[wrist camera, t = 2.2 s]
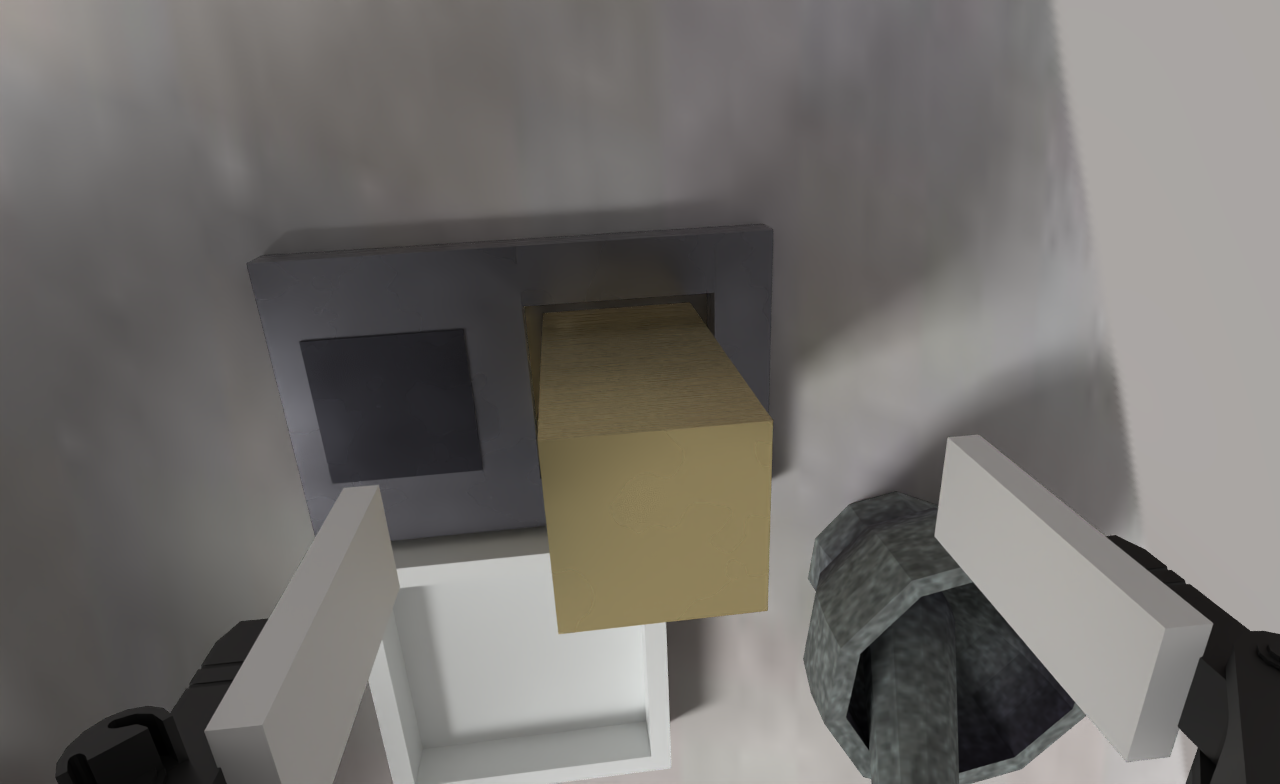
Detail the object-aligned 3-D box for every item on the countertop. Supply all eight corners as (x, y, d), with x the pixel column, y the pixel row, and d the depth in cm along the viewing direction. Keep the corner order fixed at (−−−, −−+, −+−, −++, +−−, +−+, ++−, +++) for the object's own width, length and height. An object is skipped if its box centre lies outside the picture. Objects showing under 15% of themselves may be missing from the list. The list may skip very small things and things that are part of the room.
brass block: (556, 446, 26) (558, 634, 17) (543, 312, 24) (537, 441, 15) (692, 434, 26) (767, 610, 17) (689, 302, 24) (773, 421, 15)
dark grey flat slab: (327, 529, 26) (317, 549, 25) (261, 255, 22) (245, 263, 21) (757, 487, 27) (766, 505, 26) (762, 224, 24) (774, 230, 23)
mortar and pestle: (892, 407, 27) (1129, 617, 16) (1038, 532, 30) (1324, 783, 19) (696, 608, 29) (783, 912, 18) (849, 705, 32) (1004, 1017, 21)
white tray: (408, 757, 30) (397, 803, 28) (358, 538, 26) (342, 574, 24) (663, 725, 31) (671, 768, 29) (654, 509, 27) (663, 541, 25)
